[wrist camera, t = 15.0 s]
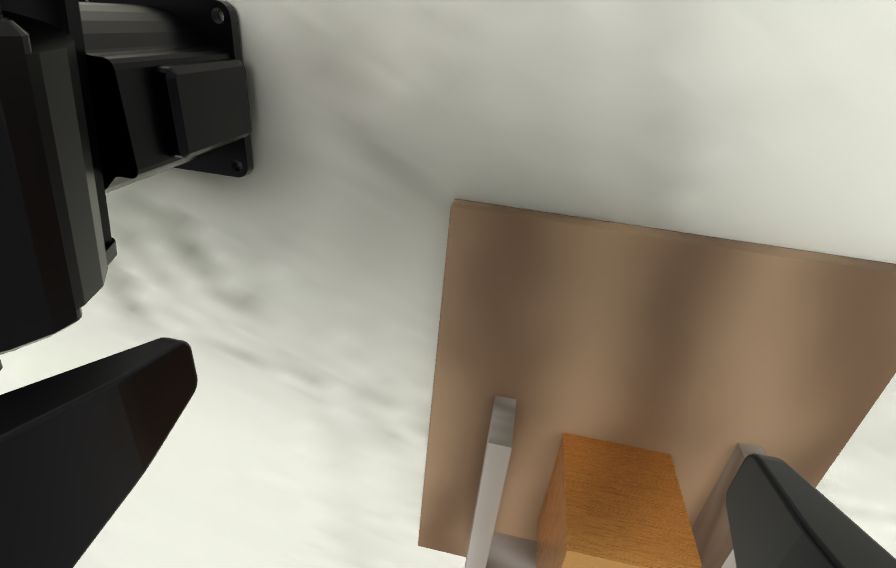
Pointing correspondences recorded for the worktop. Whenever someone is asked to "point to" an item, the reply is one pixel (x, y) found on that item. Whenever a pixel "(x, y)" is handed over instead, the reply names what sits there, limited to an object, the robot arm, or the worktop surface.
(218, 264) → the worktop surface
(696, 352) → the bracket board
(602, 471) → the block
